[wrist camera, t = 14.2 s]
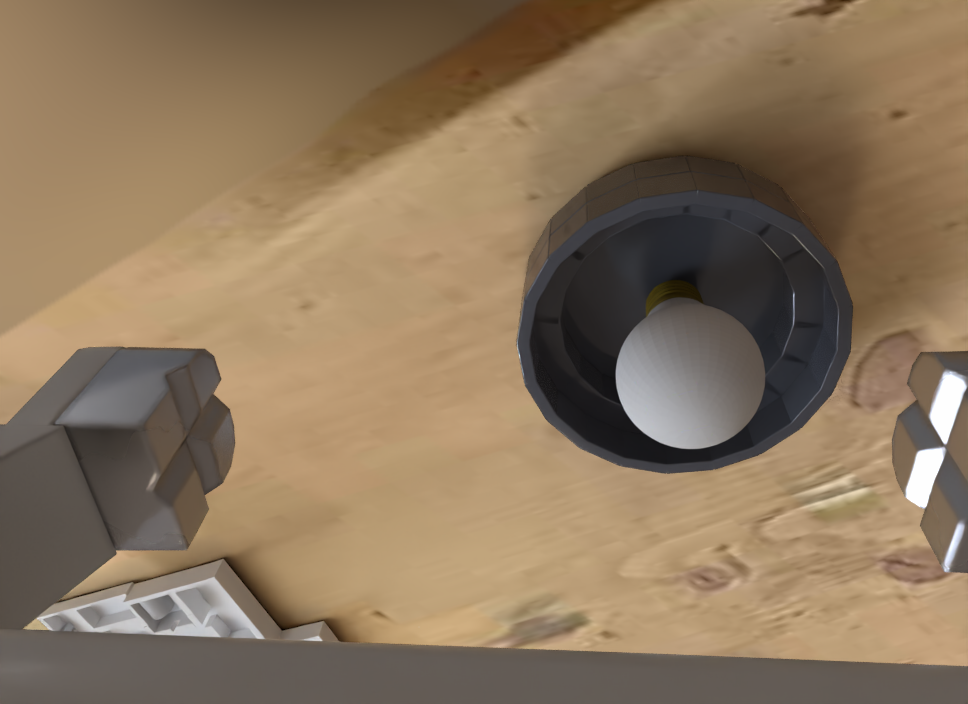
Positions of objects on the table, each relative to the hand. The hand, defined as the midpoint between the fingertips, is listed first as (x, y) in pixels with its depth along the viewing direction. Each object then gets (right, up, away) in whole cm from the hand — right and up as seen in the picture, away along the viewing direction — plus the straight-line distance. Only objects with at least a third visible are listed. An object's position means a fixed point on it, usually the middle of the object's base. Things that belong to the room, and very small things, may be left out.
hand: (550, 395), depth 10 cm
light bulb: (+8, +3, +29) cm, 31 cm away
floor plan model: (-17, -21, +48) cm, 55 cm away
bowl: (+8, +3, +30) cm, 31 cm away
